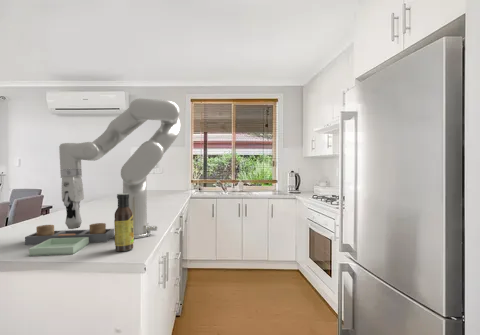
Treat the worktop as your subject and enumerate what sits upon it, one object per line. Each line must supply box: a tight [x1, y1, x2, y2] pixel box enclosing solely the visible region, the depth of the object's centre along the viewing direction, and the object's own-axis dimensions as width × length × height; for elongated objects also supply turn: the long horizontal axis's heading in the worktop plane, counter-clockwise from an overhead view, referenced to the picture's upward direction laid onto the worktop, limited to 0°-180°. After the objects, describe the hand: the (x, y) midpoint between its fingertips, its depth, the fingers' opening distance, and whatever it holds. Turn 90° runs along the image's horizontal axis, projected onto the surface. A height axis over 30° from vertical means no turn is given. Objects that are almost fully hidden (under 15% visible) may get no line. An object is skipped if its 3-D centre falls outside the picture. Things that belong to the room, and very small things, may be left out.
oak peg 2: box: [89, 222, 107, 234], centre depth 125 cm, size 6×6×6 cm
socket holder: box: [24, 228, 115, 246], centre depth 124 cm, size 30×10×3 cm, turn 96°
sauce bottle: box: [113, 193, 135, 253], centre depth 109 cm, size 6×6×20 cm
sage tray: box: [28, 237, 90, 257], centre depth 111 cm, size 14×14×2 cm
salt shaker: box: [65, 201, 83, 230], centre depth 124 cm, size 6×6×13 cm
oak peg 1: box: [35, 224, 55, 236], centre depth 123 cm, size 6×6×6 cm
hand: (73, 218), depth 124 cm, fingers closed on salt shaker, 3 cm apart
